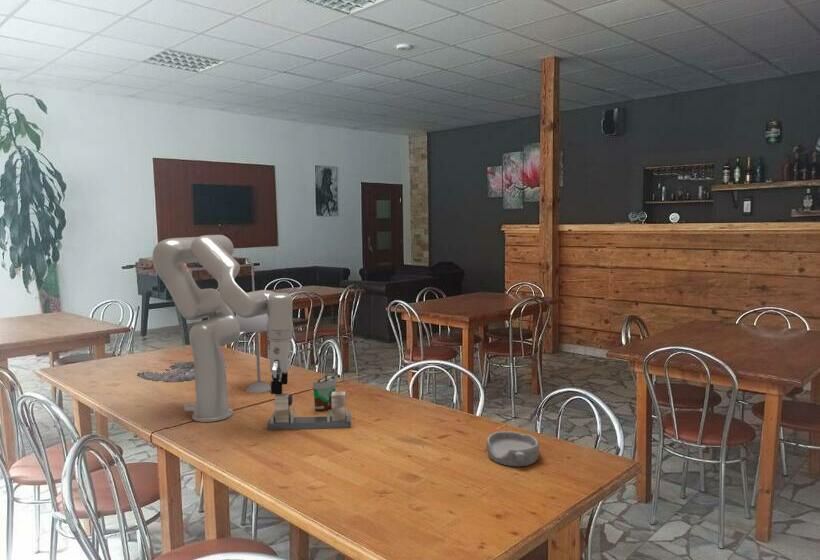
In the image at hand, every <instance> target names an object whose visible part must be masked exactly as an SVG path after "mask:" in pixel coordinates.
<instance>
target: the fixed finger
mask: <svg viewBox="0 0 820 560" xmlns="http://www.w3.org/2000/svg"><path fill="white" fill-rule="evenodd" d="M346 400H347V399H346V390H345V391H344V390H343V391H335V392H332V394H329V405H332V409H331V416H332V421H345V420H346V416H347V404H346V403H347V401H346Z"/></svg>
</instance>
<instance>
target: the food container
mask: <svg viewBox="0 0 820 560" xmlns="http://www.w3.org/2000/svg"><path fill="white" fill-rule="evenodd" d="M337 385H338V379H337V377H336V375H334V374H330V373H324V377H322V378H319V379H318V380H317V382H315V381H314V382H313V383H312V390H313V400H314V401H313V402H314V410H315V411H314V412H324V411H325V410H326V411H329V410H332V405H329V394H332V392H336V386H337ZM326 411H325V412H326Z"/></svg>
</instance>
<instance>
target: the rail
mask: <svg viewBox="0 0 820 560" xmlns="http://www.w3.org/2000/svg"><path fill="white" fill-rule="evenodd" d="M327 411H328V412H327V415H326V416H303V417H302V416H301V417H300V416H299V417H297V412H296V410H294V411H292V413H291V419H290V421H289V422H285V423H275V411H273V412H272V414H271V416H270V418H269V419H268V421H267V423H266V425H267V427H266V429H267V431H276V430H277V431H278V429H279V430H280V429H281V430H282V429H285V430H310V429H311V430H313V429H314V430H315V429H346V428H347V429H348V428H349V429H351V425H352V415H351V414H352V412H351V411H352V410H351V409H348V410H347V411H346V420H345V421H332V409H330V410H327Z"/></svg>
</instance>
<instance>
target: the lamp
mask: <svg viewBox="0 0 820 560" xmlns="http://www.w3.org/2000/svg"><path fill="white" fill-rule="evenodd" d="M235 317H236V318H237V320H238V322H239V325H240V333H255V335H254V336H255V352H256V372H257V373H256V376H257V377H256V378H257V381H255V382H252V383H251V384H250V385H249V386H248V387H247V389H246V392H247V391H248V392H247V393H249V392H250V393H249V394H262V392H264V393H267V391H268V392H270V391H271V384H269V383H267V382H265V381H261V364H260V356H261V355H263V353H262V343H261V342H262V341H261V339H260V334H259V333H261V332H267V314H264V315H259V316H255V317H251V318H243V317H240V316H238V315H237V314H235ZM269 390H270V391H269Z"/></svg>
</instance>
